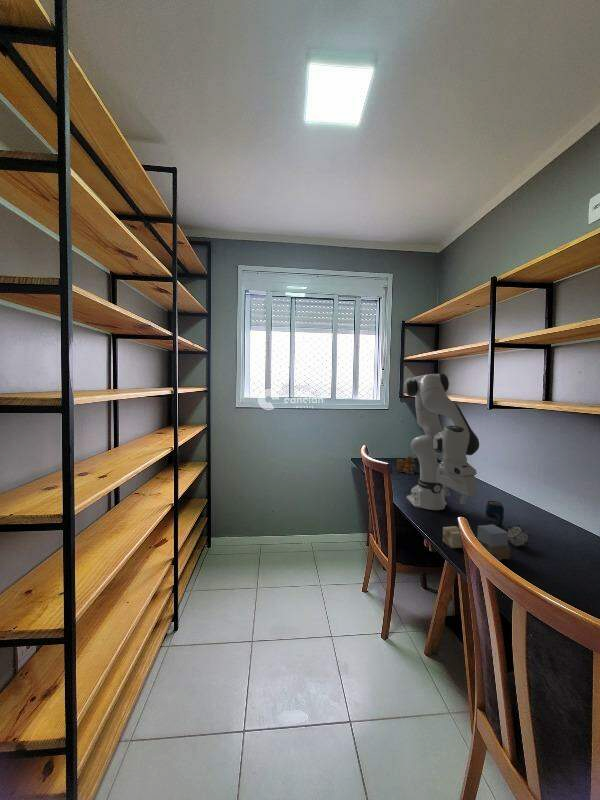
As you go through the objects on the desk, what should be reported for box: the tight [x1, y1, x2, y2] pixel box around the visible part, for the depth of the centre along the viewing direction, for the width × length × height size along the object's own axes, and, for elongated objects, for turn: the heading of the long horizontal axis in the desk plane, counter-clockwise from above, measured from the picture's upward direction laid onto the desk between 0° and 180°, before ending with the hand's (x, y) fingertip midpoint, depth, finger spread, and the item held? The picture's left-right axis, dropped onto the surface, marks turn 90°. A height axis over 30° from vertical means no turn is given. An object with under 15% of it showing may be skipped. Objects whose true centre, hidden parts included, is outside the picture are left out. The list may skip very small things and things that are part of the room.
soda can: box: [484, 500, 505, 530], centre depth 142 cm, size 7×7×12 cm
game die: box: [505, 524, 532, 549], centre depth 127 cm, size 9×8×10 cm
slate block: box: [477, 524, 509, 547], centre depth 120 cm, size 7×7×5 cm
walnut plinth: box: [476, 537, 511, 561], centre depth 120 cm, size 8×8×5 cm
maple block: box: [442, 525, 463, 549], centre depth 128 cm, size 6×6×6 cm
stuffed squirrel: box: [396, 455, 416, 475], centre depth 236 cm, size 10×14×13 cm
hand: (454, 499), depth 128 cm, fingers open, 8 cm apart
